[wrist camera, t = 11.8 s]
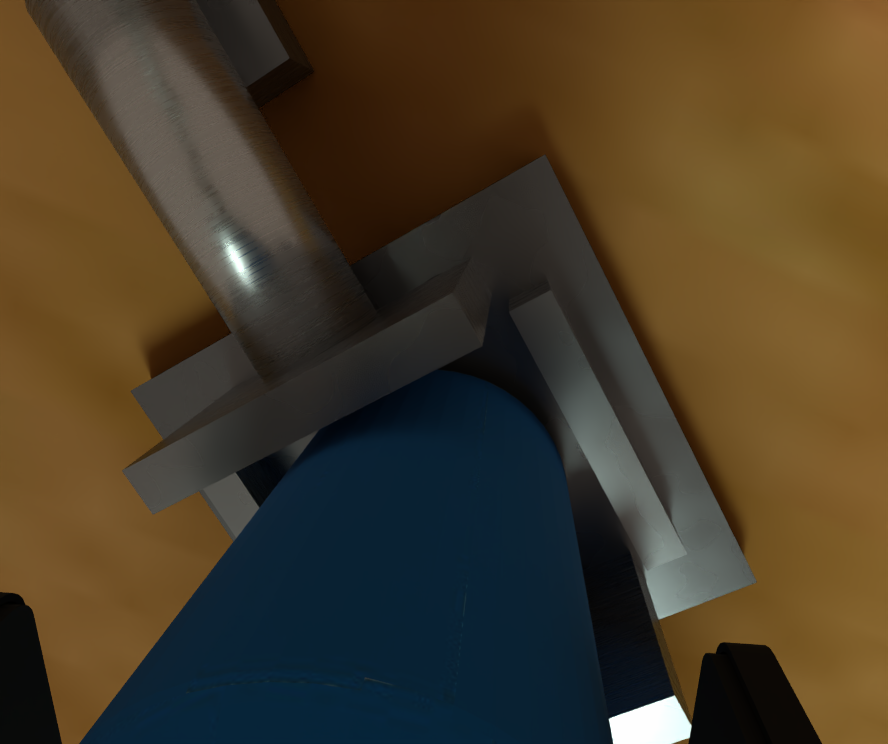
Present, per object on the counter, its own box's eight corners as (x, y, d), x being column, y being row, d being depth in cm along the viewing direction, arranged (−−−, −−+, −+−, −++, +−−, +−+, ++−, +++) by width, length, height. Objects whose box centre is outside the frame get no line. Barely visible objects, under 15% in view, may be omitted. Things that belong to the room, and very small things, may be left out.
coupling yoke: (-81, 210, 18) (-370, 226, 12) (399, -135, 14) (322, -345, 8) (379, 855, 22) (333, 1088, 17) (818, 710, 19) (949, 938, 13)
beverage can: (266, 449, 17) (-211, 977, 6) (466, 309, 16) (344, 658, 4) (413, 627, 18) (253, 1365, 7) (614, 513, 17) (830, 1225, 5)
